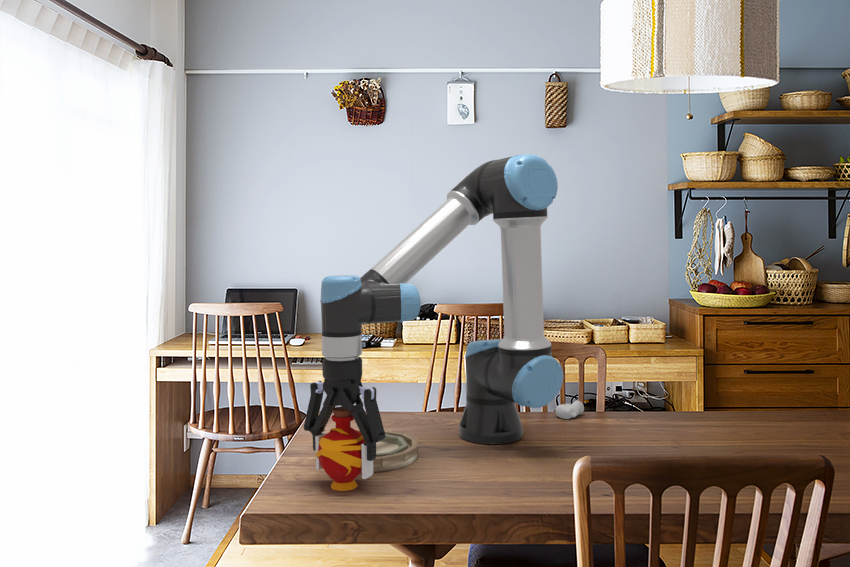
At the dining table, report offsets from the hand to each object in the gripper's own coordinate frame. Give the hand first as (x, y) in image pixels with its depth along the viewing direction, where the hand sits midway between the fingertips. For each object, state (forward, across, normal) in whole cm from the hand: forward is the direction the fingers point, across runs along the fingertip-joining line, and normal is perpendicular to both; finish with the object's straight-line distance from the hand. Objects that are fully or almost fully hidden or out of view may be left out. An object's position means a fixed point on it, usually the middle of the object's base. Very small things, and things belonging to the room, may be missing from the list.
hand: (344, 471), depth 126 cm
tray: (+3, +5, -17) cm, 18 cm away
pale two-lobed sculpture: (+3, -24, -67) cm, 72 cm away
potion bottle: (+3, 0, 0) cm, 3 cm away
